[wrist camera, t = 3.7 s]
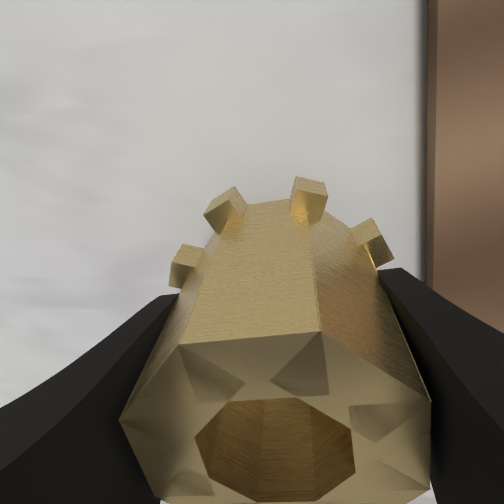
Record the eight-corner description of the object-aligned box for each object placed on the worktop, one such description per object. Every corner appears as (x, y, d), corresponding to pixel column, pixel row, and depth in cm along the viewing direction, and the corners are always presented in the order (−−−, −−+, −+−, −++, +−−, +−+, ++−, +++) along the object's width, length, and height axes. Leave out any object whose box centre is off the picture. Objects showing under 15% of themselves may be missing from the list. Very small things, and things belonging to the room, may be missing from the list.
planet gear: (389, 347, 13) (462, 557, 7) (208, 363, 14) (156, 556, 8) (380, 162, 10) (485, 274, 5) (159, 198, 11) (35, 325, 6)
